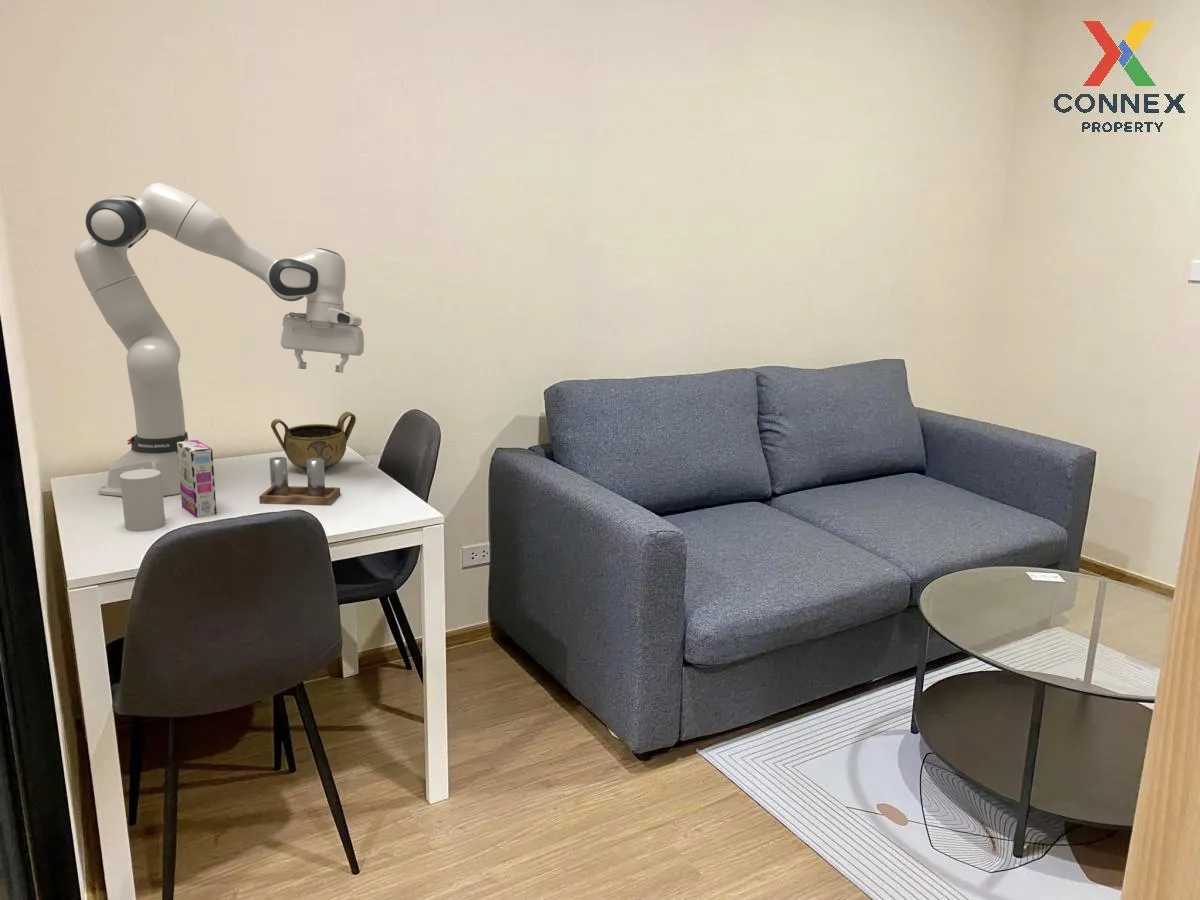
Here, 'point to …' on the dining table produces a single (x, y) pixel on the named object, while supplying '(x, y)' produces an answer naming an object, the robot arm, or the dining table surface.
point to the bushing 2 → (316, 477)
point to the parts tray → (300, 497)
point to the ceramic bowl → (315, 441)
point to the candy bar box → (196, 478)
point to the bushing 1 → (279, 476)
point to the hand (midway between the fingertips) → (320, 370)
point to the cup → (142, 499)
